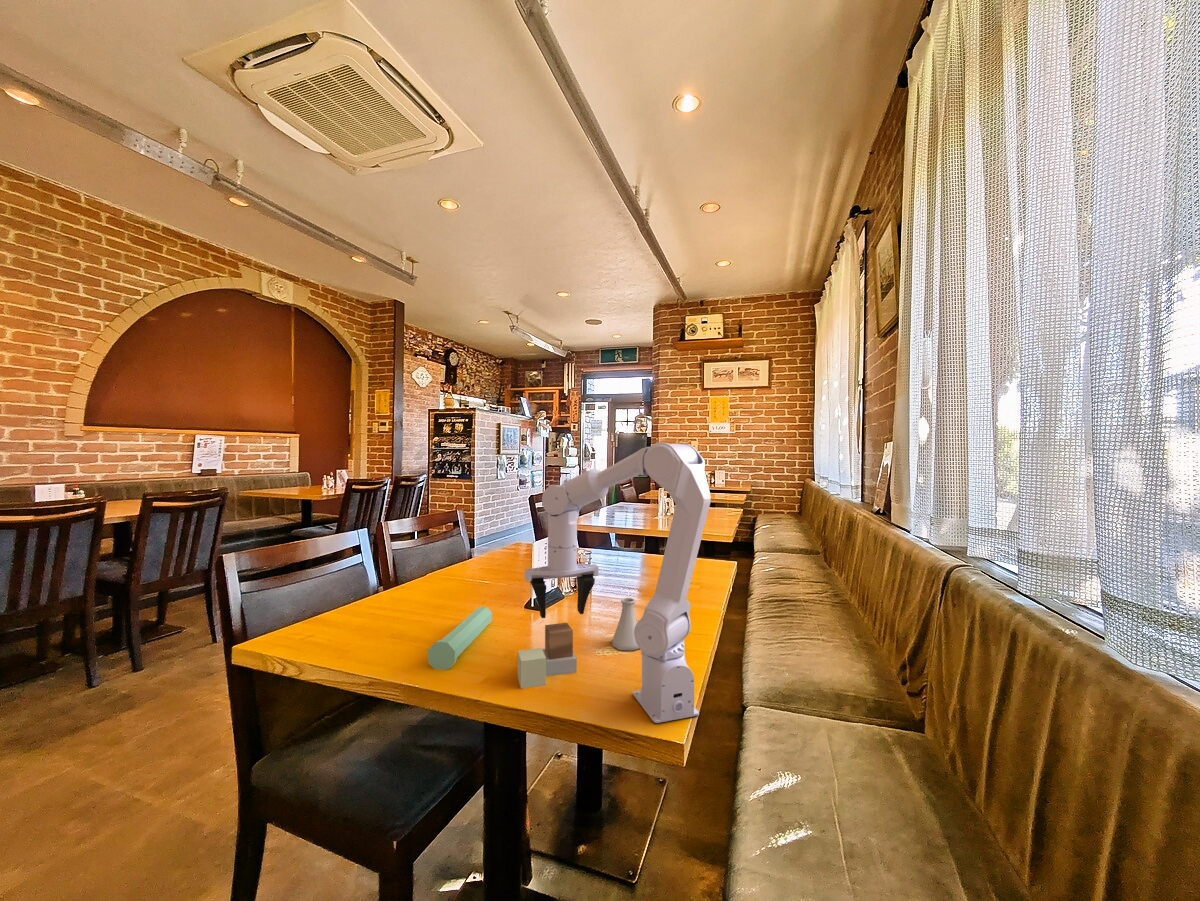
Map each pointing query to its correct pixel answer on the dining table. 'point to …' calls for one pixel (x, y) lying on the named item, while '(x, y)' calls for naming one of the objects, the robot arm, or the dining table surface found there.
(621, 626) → the flask
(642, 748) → the dining table surface
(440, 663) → the green octagonal rod
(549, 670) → the stone slab
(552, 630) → the walnut block
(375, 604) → the dining table surface
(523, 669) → the sage block
